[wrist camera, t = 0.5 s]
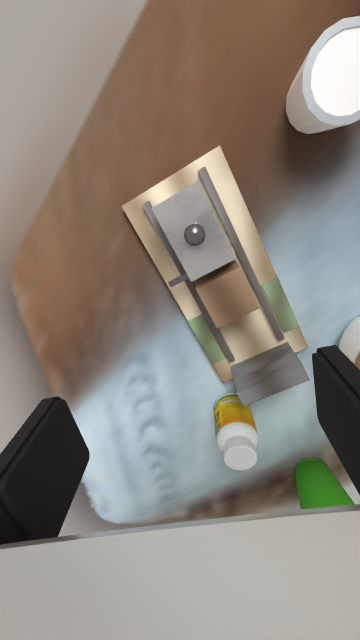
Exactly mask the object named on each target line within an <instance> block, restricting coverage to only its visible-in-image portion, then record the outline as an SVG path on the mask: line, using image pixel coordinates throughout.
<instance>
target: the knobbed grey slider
mask: <svg viewBox="0 0 360 640" xmlns="http://www.w3.org/2000/svg"><path fill="white" fill-rule="evenodd" d="M151 209H152V211H153V213H154V215H155V216H156V218H157V220H158V222H159V224H160V226H161V227H162V229H163V231H164V233H165V235H166V237H167V238H168V240H169V242H170V244H171V246H172V248H173V249H174V251H175V253H176V255H177V257H178V259H179V260H180V262H181V264H182V266H183V268H184V270H185V271H186V272H185V273H183V274H182V275H180V276H178V277H176V278H174V279H172V280H170V281H168V284H169V285H170V287H173V286H175V285H177V284H179V283H181V282H183V281H185V280H186V279H188V278H189V279H190V281H191V282H192V281H194V280H196V279H198V278H200V277H202V276H204V275H206V274H208V273H209V272H211V271H213V270H215V269H217V268H219V267H221V266H223V265H225V264H227V263H229V262H231V261H233V260H235V259H236V257H235V255H234V253H233V251H232V249H231V247H230V245H229V242H228V240H227V238H226V236H225V234H224V232H223V230H222V228H221V226H220V224H219V222H218V219H217V217H216V215H215V213H214V211H213V209H212V207H211V205H210V203H209V201H208V198H207V196H206V194H205V192H204V190H203V188H202V186H201V184H200V182H199V180H198V181H196V182H194V183H193V184H191V185H189V186H188V187H186V188H184V189H183V190H181V191H179V192H178V193H176V194H174V195H173V196H171V197H169V198H168V199H166V200H164V201H163V202H161V203H159V204H158V205H156V206H154V207H153V208H151Z"/></svg>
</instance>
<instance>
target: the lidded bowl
mask: <svg viewBox="0 0 360 640" xmlns="http://www.w3.org/2000/svg"><path fill="white" fill-rule="evenodd" d="M339 349H340V350H341V351H342V352H343V353H344V354H345V355H346V356H347V357H348V358H349V359H350V360H351V361H352V362H353V363H354V364H355V365H356V366H357V367H358V368H359V369H360V315H359V316H358V317H357V318H355V319H354V320H353V321H352V322H351V323H350V324H349V325H348V327H347V328H346V329H345V331H344V333H343V335H342V337H341V340H340V343H339Z"/></svg>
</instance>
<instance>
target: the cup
mask: <svg viewBox="0 0 360 640" xmlns="http://www.w3.org/2000/svg"><path fill="white" fill-rule="evenodd" d="M295 478H296V484H297V490H298V495H299V501H300V507H301V509H310V508H321V507H332V506H343V505H355V504H354V502H353V501H352V500H351V498H350V497H349V495H348V494H347V493H346V491H345V490H344V488H343V487H342V486H341V484H340V483H339V481H338V480H337V479H336V477H335V476H334V474H333V473H332V472H331V470H330V469H329V467H328V466H327V465H326V464H325V463H324V462H323V461H321V460H319V459H316V458H308V459H305V460H302V461H301V462H299V463H298V464H297V466H296V468H295Z"/></svg>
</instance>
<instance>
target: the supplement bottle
mask: <svg viewBox="0 0 360 640" xmlns="http://www.w3.org/2000/svg"><path fill="white" fill-rule="evenodd" d="M214 418H215V431H216V442H217V445H218V448H219V449H220V451H221V452H222V453H223V458H224V462H225V464H226V465H227V466H228V467H229V468H231V469H234V470H240V471H241V470H247V469H249V468H251V467H253V466H254V465H255V464H256V462H257V458H258V457H257V451H256V449H257V447H258V443H259V437H258V433H257V430H256V426H255V422H254V418H253V414H252V411H251V407H250V404H247V405H245V406H243V404H242V402H241V400H240V399H239V397H238V395H237V393H227V394H224V395H222V396H220V397H219V398H218V399H217V400H216V402H215V404H214Z"/></svg>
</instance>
